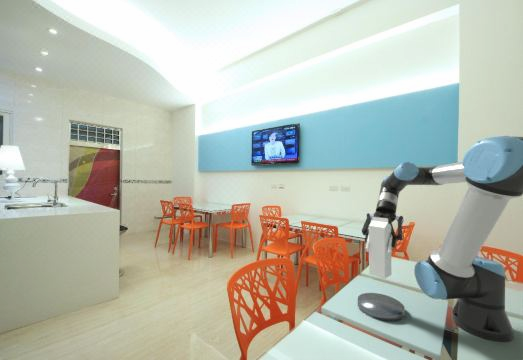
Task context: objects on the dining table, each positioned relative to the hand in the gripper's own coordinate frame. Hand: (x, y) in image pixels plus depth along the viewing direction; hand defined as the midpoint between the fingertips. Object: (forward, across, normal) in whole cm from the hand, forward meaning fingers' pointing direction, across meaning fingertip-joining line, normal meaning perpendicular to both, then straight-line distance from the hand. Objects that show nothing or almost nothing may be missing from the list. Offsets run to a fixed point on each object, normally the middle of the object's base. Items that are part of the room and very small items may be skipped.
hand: (377, 251), depth 88 cm
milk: (+4, 0, -9) cm, 10 cm away
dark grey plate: (+14, 0, -18) cm, 23 cm away
